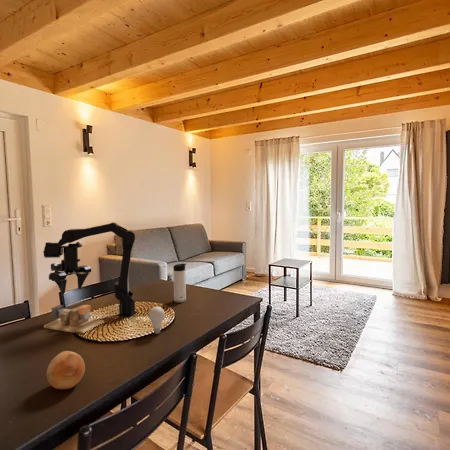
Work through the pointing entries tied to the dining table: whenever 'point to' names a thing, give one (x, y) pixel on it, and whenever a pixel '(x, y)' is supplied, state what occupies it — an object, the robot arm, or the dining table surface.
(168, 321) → the dining table surface
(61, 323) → the bearing stand
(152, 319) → the lightbulb
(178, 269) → the travel mug
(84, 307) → the block
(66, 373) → the onion
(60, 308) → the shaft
